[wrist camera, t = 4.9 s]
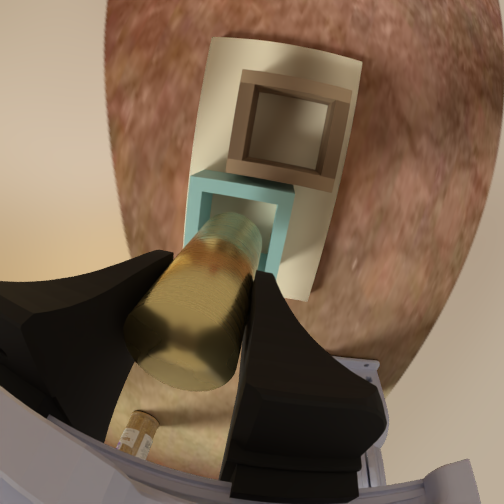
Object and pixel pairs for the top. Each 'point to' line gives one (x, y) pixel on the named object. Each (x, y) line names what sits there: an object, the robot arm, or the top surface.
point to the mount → (298, 89)
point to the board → (275, 143)
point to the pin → (198, 307)
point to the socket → (245, 188)
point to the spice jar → (138, 435)
